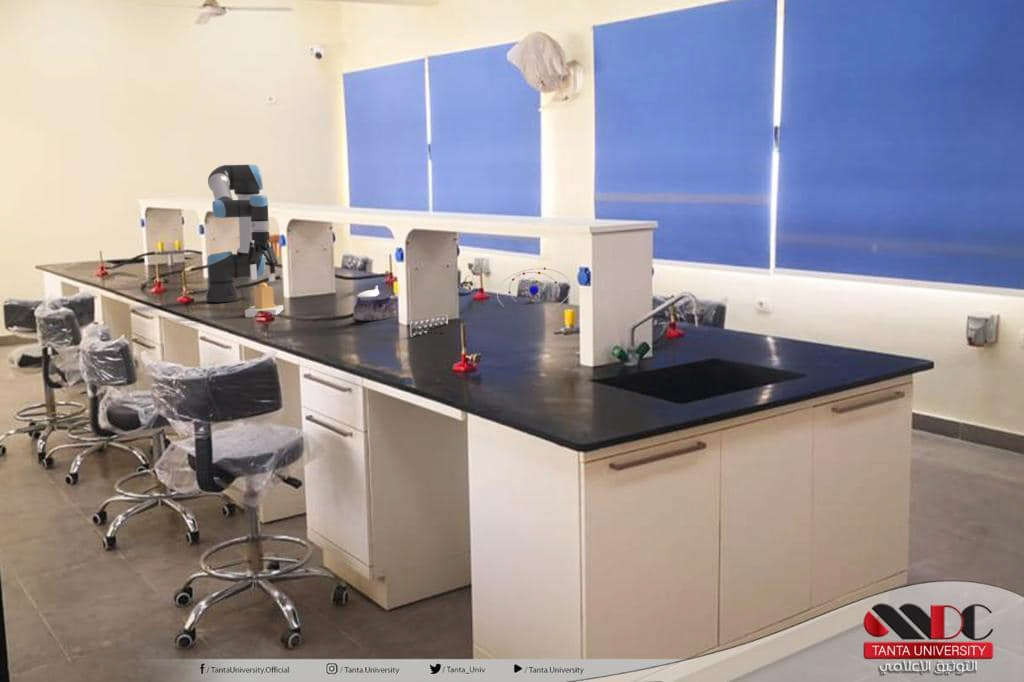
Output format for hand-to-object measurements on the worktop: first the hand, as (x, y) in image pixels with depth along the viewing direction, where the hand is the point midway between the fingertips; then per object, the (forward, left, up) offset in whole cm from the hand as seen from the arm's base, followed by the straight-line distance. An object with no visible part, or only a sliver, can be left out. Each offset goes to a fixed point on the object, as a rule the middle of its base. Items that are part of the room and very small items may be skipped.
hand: (262, 280), depth 433 cm
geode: (+30, +51, -15) cm, 61 cm away
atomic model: (+5, +105, -15) cm, 106 cm away
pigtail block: (0, 0, -15) cm, 15 cm away
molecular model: (+62, +76, -18) cm, 100 cm away
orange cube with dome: (0, 0, -12) cm, 12 cm away
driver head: (-46, +46, -13) cm, 66 cm away
